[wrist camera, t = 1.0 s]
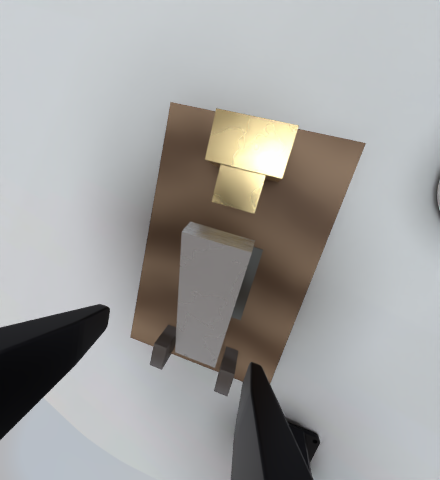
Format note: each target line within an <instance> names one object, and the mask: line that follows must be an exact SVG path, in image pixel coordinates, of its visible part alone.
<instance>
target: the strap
mask: <svg viewBox="0 0 440 480" xmlns="http://www.w3.org/2000/svg"><path fill="white" fill-rule="evenodd" d="M254 243H255V240H251V239H248V238H245V237H241V236H238V235H234V234H231V233H228V232H224V231H221V230H217V229H214V228H211V227H207V226H204V225H200V224H197V223H193V222H189V224H188V225H187V226H186V227H185V228H184V230H183V231H182V236H181V254H180V272H179V290H178V308H177V326H176V344H175V352H176V353H178V354H181V355H183V356H186V357H189V358H191V359H194V360H196V361H199V362H201V363H204V364H206V365H209V366H211V367H214V368H215V366H216V363H217V359H218V356H219V353H220V350H221V347H222V344H223V341H224V338H225V335H226V331H227V328H228V325H229V322H230V319H231V316H232V313H233V310H234V307H235V304H236V300H237V297H238V294H239V291H240V288H241V285H242V282H243V279H244V276H245V272H246V269H247V266H248V263H249V260H250V257H251V254H252V250H253V246H254Z"/></svg>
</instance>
